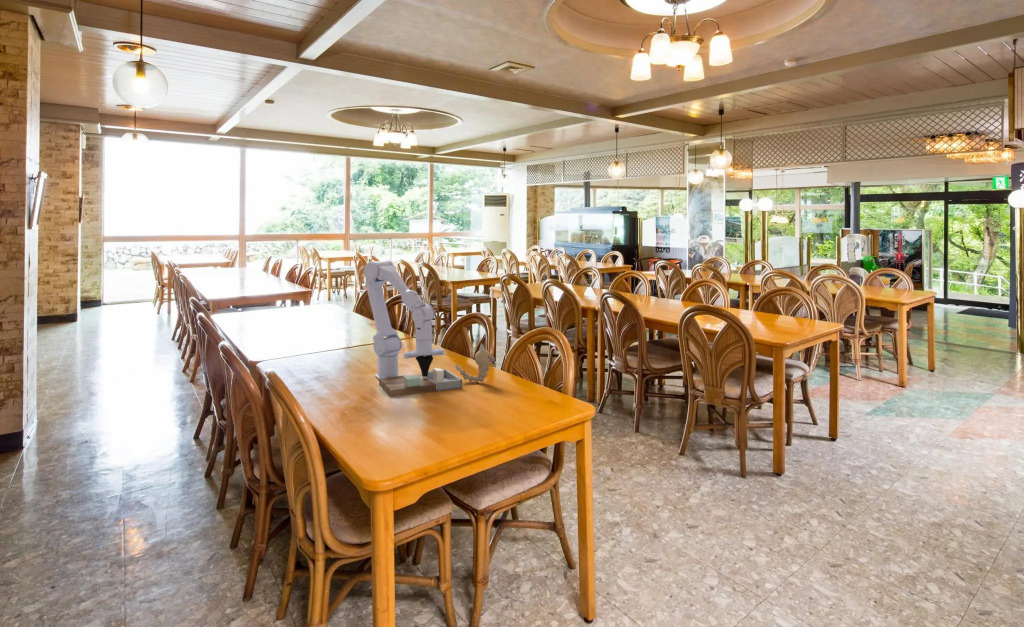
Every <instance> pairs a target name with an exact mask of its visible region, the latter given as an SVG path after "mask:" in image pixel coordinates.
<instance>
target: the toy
mask: <svg viewBox="0 0 1024 627" xmlns="http://www.w3.org/2000/svg"><path fill="white" fill-rule="evenodd" d="M495 360H496V357H494V356H493V354H492V353H491V352H490V351H488V350H486V348H485V346H484V344H483V343H482V342H481V343H480V347H479V350H478V351H477V352H476V353H475V355H474V362H475V363H476V365H477V366H478V368H477V369H478V372H477V374H478V375H475V376H474V375H472V374H469V373H468V372H466V370H465V369H462V368H461V367H460V366H459V365H458V364H457V363H455V369H456V371H458V372H459V373H460V375H461V376H462V378H463V379H464V380H465V381H466V380H468V381H469V383H472V381H473V382H474V383H475V384H477V383H479V382H480V383H483V382H484V381H485V378H486V377H487V376H488V375H489V374H488V372H489V371H490V368H491V367H490V364H491V363H494V362H495Z"/></svg>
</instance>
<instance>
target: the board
mask: <svg viewBox="0 0 1024 627" xmlns="http://www.w3.org/2000/svg"><path fill="white" fill-rule="evenodd" d="M413 375H417V376H418V377H420V384H421V385H420V386H411V387H407V386H406V385H405V384H404V376H413ZM378 385H379V386H380V387H381V388H382V390H383V391H384V392H385V393H386V394H387V395H388V396H389V397H390V398H393V397H394V396H395V397H401V396H409V395H419V394H425V393H434V392H437V390H436V384H435V383H434V382H432V381H431V380H430V379H428V378H427V377H423V376H422V373H414V374H406V375H405V374H404V375H399V376H395V377H386V378H379V379H378Z"/></svg>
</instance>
